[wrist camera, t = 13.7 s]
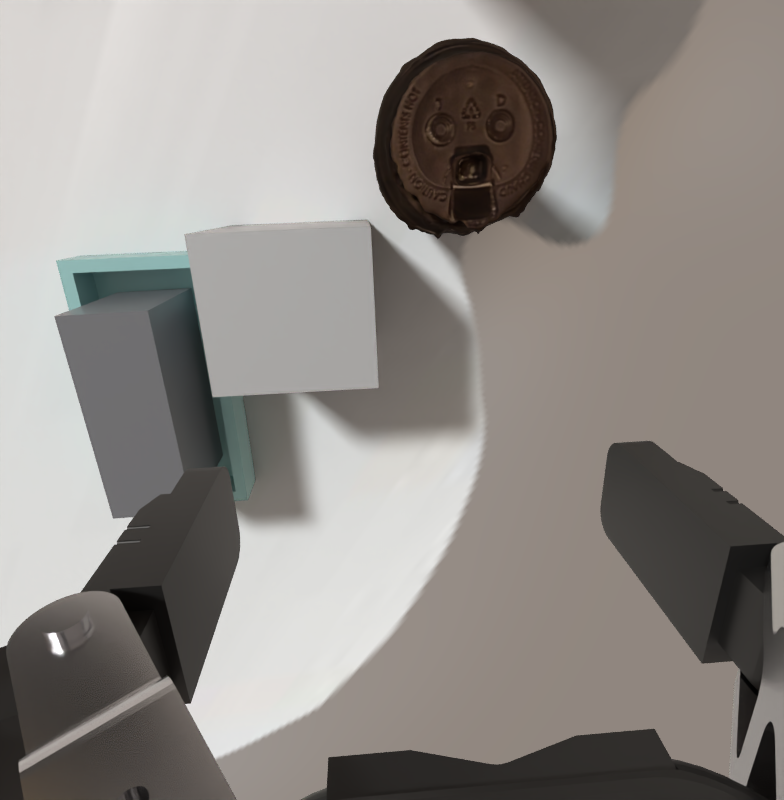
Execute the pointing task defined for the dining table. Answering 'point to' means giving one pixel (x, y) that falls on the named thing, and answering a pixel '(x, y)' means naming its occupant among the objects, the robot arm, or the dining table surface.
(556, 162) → the dining table surface
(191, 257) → the light grey block
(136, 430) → the tall grey pillar
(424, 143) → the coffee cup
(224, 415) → the tray
